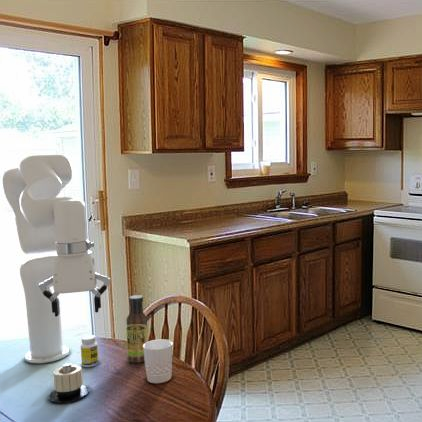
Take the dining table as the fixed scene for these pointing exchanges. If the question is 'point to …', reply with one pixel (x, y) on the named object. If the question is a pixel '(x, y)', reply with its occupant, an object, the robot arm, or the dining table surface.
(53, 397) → the tape stand
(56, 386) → the tape roll
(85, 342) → the supplement bottle
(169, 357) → the white cup
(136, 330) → the sauce bottle
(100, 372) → the dining table surface
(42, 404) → the dining table surface
